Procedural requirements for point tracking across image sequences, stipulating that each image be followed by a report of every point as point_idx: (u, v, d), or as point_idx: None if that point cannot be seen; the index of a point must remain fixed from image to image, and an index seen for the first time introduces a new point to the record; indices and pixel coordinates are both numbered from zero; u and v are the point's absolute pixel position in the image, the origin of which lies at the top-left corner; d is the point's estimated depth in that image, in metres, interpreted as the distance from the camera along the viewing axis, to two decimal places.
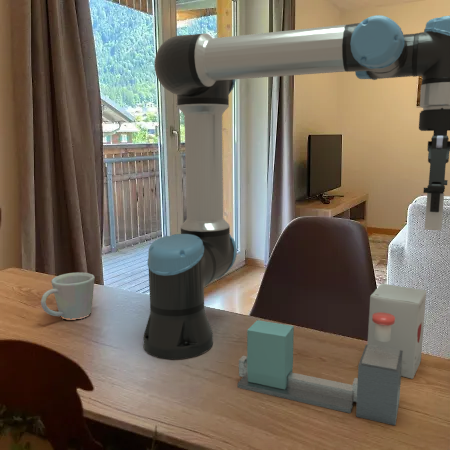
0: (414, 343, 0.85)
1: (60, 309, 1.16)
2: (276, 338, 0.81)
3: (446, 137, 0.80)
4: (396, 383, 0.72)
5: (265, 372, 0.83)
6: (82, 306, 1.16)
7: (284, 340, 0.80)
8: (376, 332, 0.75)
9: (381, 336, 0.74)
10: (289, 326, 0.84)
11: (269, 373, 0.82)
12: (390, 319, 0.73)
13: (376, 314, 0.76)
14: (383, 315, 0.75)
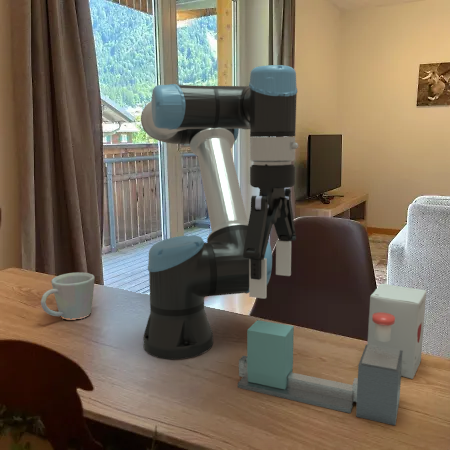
0: (414, 343, 0.85)
1: (60, 309, 1.16)
2: (276, 338, 0.81)
3: (264, 198, 0.72)
4: (396, 383, 0.72)
5: (265, 372, 0.83)
6: (82, 306, 1.16)
7: (284, 340, 0.80)
8: (376, 332, 0.75)
9: (381, 336, 0.74)
10: (289, 326, 0.84)
11: (269, 373, 0.82)
12: (390, 319, 0.73)
13: (376, 314, 0.76)
14: (383, 315, 0.75)
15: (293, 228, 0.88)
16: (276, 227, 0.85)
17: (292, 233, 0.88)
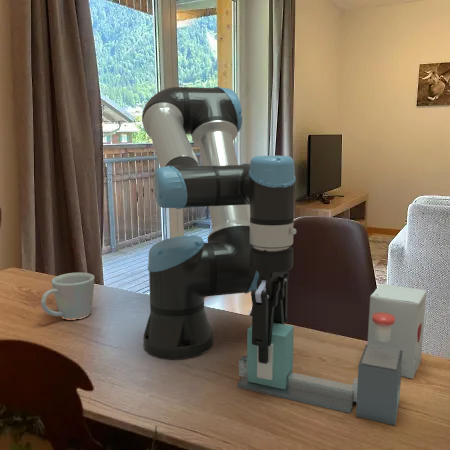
0: (414, 343, 0.85)
1: (60, 309, 1.16)
2: (276, 338, 0.81)
3: (263, 295, 0.76)
4: (396, 383, 0.72)
5: None
6: (82, 306, 1.16)
7: (284, 340, 0.80)
8: (376, 332, 0.75)
9: (381, 336, 0.74)
10: (289, 326, 0.84)
11: None
12: (390, 319, 0.73)
13: (376, 314, 0.76)
14: (383, 315, 0.75)
15: (286, 315, 0.88)
16: None
17: (284, 320, 0.88)
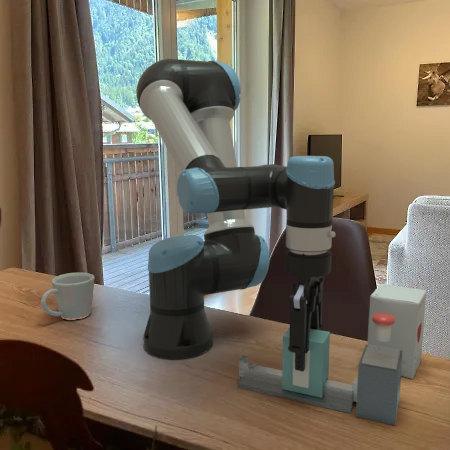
0: (414, 343, 0.85)
1: (60, 309, 1.16)
2: (314, 345, 0.78)
3: (302, 301, 0.73)
4: (396, 383, 0.72)
5: None
6: (82, 306, 1.16)
7: (322, 346, 0.77)
8: (376, 332, 0.75)
9: (381, 336, 0.74)
10: (325, 332, 0.81)
11: None
12: (390, 319, 0.73)
13: (376, 314, 0.76)
14: (383, 315, 0.75)
15: (321, 320, 0.85)
16: None
17: (319, 326, 0.85)
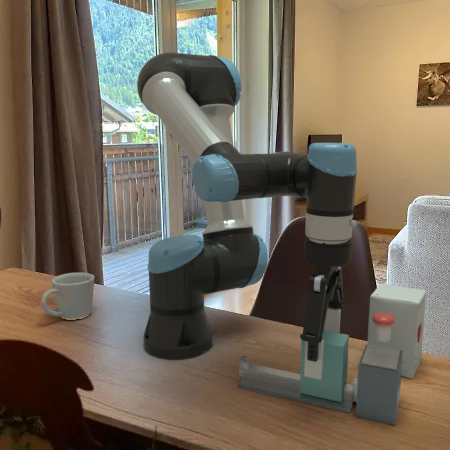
0: (414, 343, 0.85)
1: (60, 309, 1.16)
2: (333, 348, 0.77)
3: (324, 281, 0.71)
4: (396, 383, 0.72)
5: (320, 384, 0.79)
6: (82, 306, 1.16)
7: (342, 350, 0.76)
8: (376, 332, 0.75)
9: (381, 336, 0.74)
10: (344, 335, 0.80)
11: (324, 385, 0.78)
12: (390, 319, 0.73)
13: (376, 314, 0.76)
14: (383, 315, 0.75)
15: (342, 295, 0.86)
16: None
17: (341, 300, 0.87)
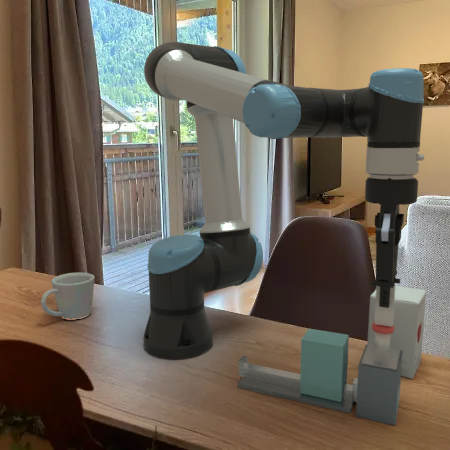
0: (414, 343, 0.85)
1: (60, 309, 1.16)
2: (333, 348, 0.77)
3: (392, 234, 0.66)
4: (396, 383, 0.72)
5: (320, 384, 0.79)
6: (82, 306, 1.16)
7: (342, 350, 0.76)
8: (376, 340, 0.75)
9: (381, 345, 0.74)
10: (344, 335, 0.80)
11: (324, 385, 0.78)
12: (389, 328, 0.74)
13: None
14: None
15: (396, 267, 0.76)
16: None
17: None
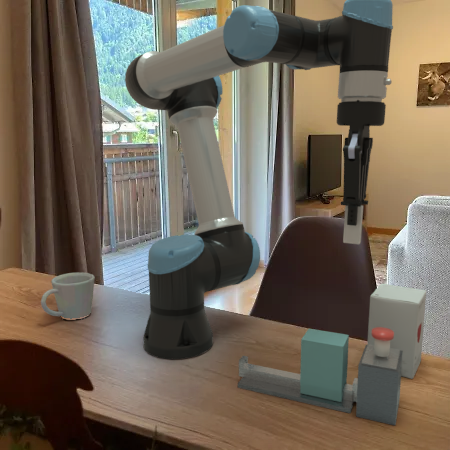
0: (414, 343, 0.85)
1: (60, 309, 1.16)
2: (333, 348, 0.77)
3: (358, 150, 0.71)
4: (396, 383, 0.72)
5: (320, 384, 0.79)
6: (82, 306, 1.16)
7: (342, 350, 0.76)
8: (375, 347, 0.75)
9: (380, 351, 0.75)
10: (344, 335, 0.80)
11: (324, 385, 0.78)
12: (389, 334, 0.74)
13: (375, 329, 0.76)
14: (382, 330, 0.76)
15: (365, 190, 0.81)
16: None
17: (363, 194, 0.80)
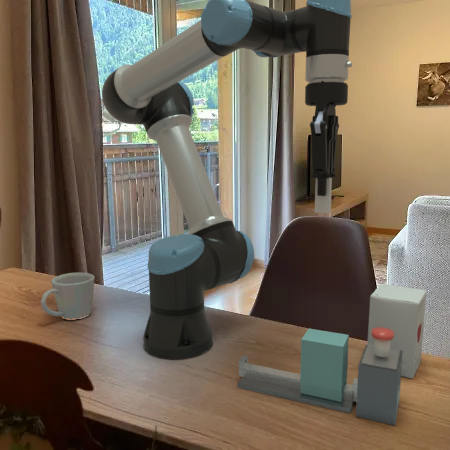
0: (414, 343, 0.85)
1: (60, 309, 1.16)
2: (333, 348, 0.77)
3: (323, 125, 0.79)
4: (396, 383, 0.72)
5: (320, 384, 0.79)
6: (82, 306, 1.16)
7: (342, 350, 0.76)
8: (375, 347, 0.75)
9: (380, 351, 0.75)
10: (344, 335, 0.80)
11: (324, 385, 0.78)
12: (389, 334, 0.74)
13: (375, 329, 0.76)
14: (382, 330, 0.76)
15: (334, 165, 0.89)
16: None
17: None
